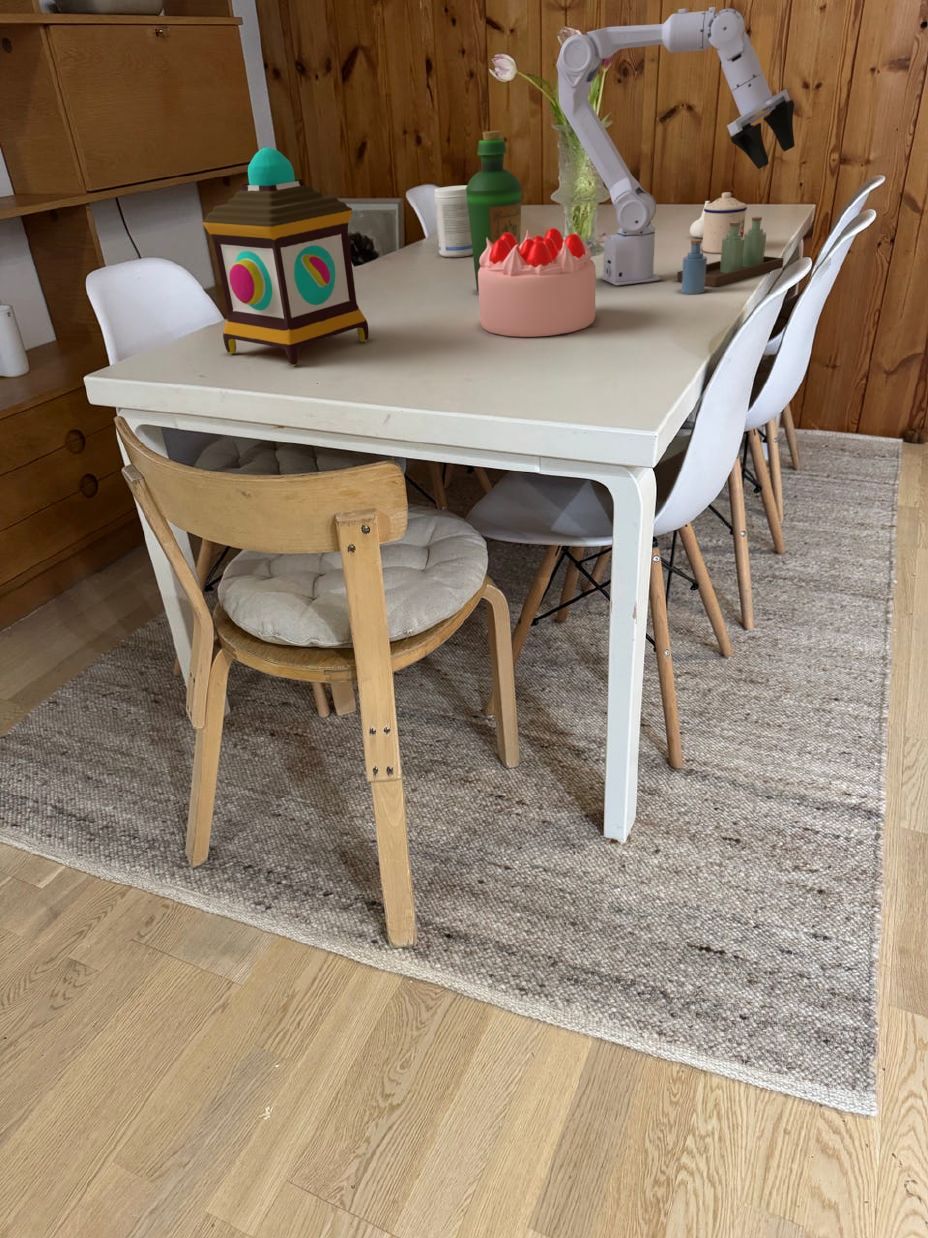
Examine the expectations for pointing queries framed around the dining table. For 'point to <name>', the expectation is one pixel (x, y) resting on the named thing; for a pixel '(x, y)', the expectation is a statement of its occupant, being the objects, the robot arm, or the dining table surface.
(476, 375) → the dining table surface
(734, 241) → the green bottle mid
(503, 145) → the bottle
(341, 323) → the decorative lantern
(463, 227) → the supplement tub
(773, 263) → the tray
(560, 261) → the cake
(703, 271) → the blue bottle
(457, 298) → the dining table surface
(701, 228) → the garlic bulb
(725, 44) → the robot arm
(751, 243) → the green bottle far
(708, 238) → the cream enamel lidded pot
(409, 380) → the dining table surface
